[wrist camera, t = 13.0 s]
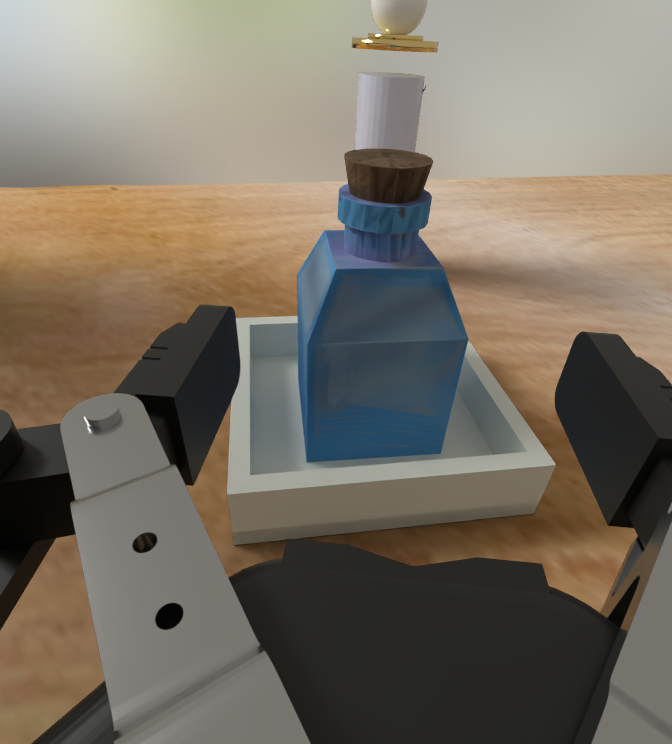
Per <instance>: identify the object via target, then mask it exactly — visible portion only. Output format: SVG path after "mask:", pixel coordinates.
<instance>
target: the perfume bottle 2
mask: <svg viewBox="0 0 672 744" xmlns="http://www.w3.org/2000/svg"><path fill="white" fill-rule="evenodd" d="M432 163H433V160H432V159H431V158H430V157H428V156H426V155H423V154H419V153H415V152H410V151H404V150H396V149H380V148H378V149H358V150H353V151H349V152H347V153H345V164H346V171H347V178H348V184H347V185H344V186H342V187H341V188H339V201H338V219H339V220H340V221H341V222H342V223H343V224H345V230H324V232H323V234H322V235H321V237H320V238H319V240H318V242H317V243H316V245H315V247H314V248H313V250H312V251H311V253H310V255H309V256H308V258H307V259H306V261H305V263H304V264H303V266H302V268H301V269H300V271H299V272H298V274H297V298H298V383H299V393H300V403H301V413H302V423H303V433H304V442H305V452H306V462H320V461H336V460H352V459H367V458H383V457H398V456H414V455H429V454H441V450H442V446H443V442H444V438H445V434H446V430H447V426H448V422H449V418H450V413H451V409H452V405H453V401H454V397H455V393H456V389H457V385H458V381H459V376H460V372H461V368H462V364H463V360H464V356H465V352H466V348H467V344H468V337H467V334H466V331H465V328H464V325H463V322H462V320H461V317H460V314H459V311H458V308H457V305H456V302H455V300H454V297H453V294H452V291H451V288H450V285H449V282H448V279H447V277H446V274H445V271H444V268H443V266H442V265H441V264H440V262H439V261H438V260H437V258H436V257H435V256H434V254H433V253H432V252H431V251H430V249H429V248H428V247H427V245H426V244H425V243H424V241H423V240H422V239H421V237H420V236H419V235H418V233H419V230H420V229H422V228H424V227H425V226H426V225H427V223H428V218H429V212H430V206H431V199H432V197H431V195H430V193H429V192H427V191H425V190H424V186H425V183H426V180H427V177H428V175H429V172H430V169H431V166H432Z"/></svg>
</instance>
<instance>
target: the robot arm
mask: <svg viewBox="0 0 672 744" xmlns="http://www.w3.org/2000/svg"><path fill="white" fill-rule="evenodd" d="M240 367H241V365H240V353H239V344H238V334H237V325H236V316H235V312H234V309H233V308H232V307H229V306H215V305H199V306H198V308H197V309H196V310H195V312H194V313H193V315H192V316H191V317H190V319H189V320H188V321H187V323H186V324H182V323H177V324H175V325H174V326H172V327H171V328H169V329H167V330H166V331H164V332H162V333H161V334H160V335H159V336H158V337H157V339H156V340H155V341H154V342H153V344H152V345H151V346H150V349H148V350H147V351H146V353H145V354H144V355H143V356H142V360H139V361H138V363H137V364H136V365H135V366H134V368H133V369H132V370H131V372H130V373H129V374H128V375H127V377H126V378H125V379H124V380H123V382H122V383H121V384H120V386H119V387H118V388H117V389H116V391H115V392H114V393H111V394H104V395H99V396H96V397H93V398H90V399H87V400H85V401H83V402H81V403H79V404H77V405H76V406H75V407H73V408H72V409H71V410H70V411H69V412H67V414H66V415H65V416H64V417H63V419H62V421H61V423H60V424H54V425H46V426H39V427H32V428H24V429H16V427H15V425H14V423H13V421H12V419H11V417H10V415H9V414H8V413H6V412H5V411H3V410H0V630H1V628H2V627H3V625H4V623H5V622H6V620H7V618H8V617H9V615H10V613H11V612H12V610H13V608H14V607H15V605H16V603H17V602H18V600H19V598H20V597H21V595H22V593H23V592H24V590H25V588H26V587H27V585H28V583H29V582H30V580H31V578H32V577H33V575H34V573H35V572H36V570H37V568H38V567H39V565H40V563H41V562H42V560H43V559H44V557H45V555H46V554H47V552H48V550H49V549H50V547H51V545H52V544H53V542H54V540H55V539H56V538H58V537H64V536H69V535H74V534H76V538H77V543H78V548H79V553H80V558H81V563H82V568H83V573H84V578H85V583H86V588H87V593H88V598H89V603H90V608H91V613H92V618H93V623H94V628H95V633H96V638H97V642H98V647H99V652H100V657H101V662H102V667H103V672H104V677H105V681H104V682H103V683H101V684H100V685H99V686H98V687H97V688H96V689H94V690H93V691H92V692H91V693H90V694H89V695H87V696H86V697H85V698H84V699H83V700H82V701H80V702H79V703H78V704H77V705H76V706H75V707H73V708H72V709H71V710H70V711H69V712H68V713H66V714H65V715H64V716H63V717H62V718H61V719H59V720H58V721H57V722H56V723H55V724H54V725H52V726H51V727H50V728H49V729H48V730H47V731H45V732H44V733H43V734H42V735H41V736H40V737H38V738H37V739H36V740H35V741H34V742H33V743H31V744H672V385H671V383H670V382H669V381H668V380H667V379H666V377H665V376H664V375H663V374H662V373H661V371H659V370H658V369H656V368H655V367H653V366H652V365H650V364H649V363H647V362H646V361H645V360H643V359H642V358H640V357H636V356H635V354H634V353H633V352H632V351H631V349H630V348H629V347H628V345H627V344H626V343H625V342H624V340H623V339H622V338H621V337H620V336H619V335H617V334H607V333H592V332H581V333H579V334H578V335H577V336H576V338H575V340H574V342H573V345H572V347H571V350H570V353H569V355H568V358H567V361H566V363H565V366H564V369H563V371H562V374H561V377H560V379H559V382H558V385H557V388H556V392H555V408H556V412H557V415H558V417H559V419H560V421H561V423H562V426H563V428H564V430H565V432H566V434H567V437H568V439H569V441H570V443H571V445H572V448H573V450H574V452H575V454H576V456H577V459H578V461H579V463H580V465H581V467H582V470H583V472H584V474H585V476H586V478H587V481H588V483H589V485H590V487H591V489H592V492H593V494H594V496H595V498H596V500H597V503H598V505H599V507H600V509H601V511H602V514H603V516H604V518H605V520H606V522H607V525H608V526H618V527H629V528H634V529H635V531H636V533H637V537H636V539H635V540H634V542H633V543H632V545H631V546H630V548H629V551H628V553H627V555H626V557H625V559H624V562H623V564H622V566H621V568H620V570H619V573H618V575H617V577H616V579H615V581H614V584H613V586H612V588H611V590H610V592H609V595H608V597H607V599H606V601H605V603H604V606H603V608H602V610H601V612H600V613H599V612H598V611H596V610H595V609H593V608H592V607H590V606H589V605H587V604H586V603H584V602H582V601H580V600H578V599H577V598H575V597H573V596H571V595H569V594H567V593H564V592H562V591H560V590H558V589H556V588H553V587H550V586H548V583H547V579H546V576H545V573H544V569H543V566H542V564H539V563H529V562H518V561H508V560H498V559H488V558H471V559H464V560H457V561H450V562H443V563H436V564H429V565H422V566H410V565H406V564H403V563H400V562H398V561H395V560H392V559H389V558H386V557H383V556H380V555H377V554H374V553H371V552H368V551H365V550H362V549H359V548H356V547H353V546H350V545H346V544H336V543H325V542H315V541H305V540H295V539H287V541H286V546H285V551H284V556H283V558H281V559H274V560H270V561H266V562H262V563H258V564H256V565H253V566H251V567H248V568H246V569H243V570H241V571H239V572H238V573H236V574H234V575H232V576H230V577H228V576H227V574H226V572H225V570H224V567H223V565H222V563H221V561H220V559H219V557H218V555H217V552H216V550H215V548H214V546H213V544H212V542H211V539H210V537H209V535H208V533H207V531H206V529H205V526H204V524H203V522H202V520H201V518H200V516H199V513H198V511H197V509H196V507H195V505H194V503H193V500H192V498H191V496H190V494H189V492H188V490H187V488H186V485H194V483H195V481H196V479H197V476H198V474H199V472H200V470H201V467H202V465H203V463H204V461H205V458H206V456H207V454H208V452H209V449H210V447H211V445H212V443H213V440H214V438H215V436H216V433H217V431H218V429H219V427H220V424H221V422H222V420H223V418H224V415H225V413H226V411H227V409H228V406H229V404H230V402H231V400H232V397H233V395H234V393H235V391H236V388H237V386H238V383H239V378H240Z"/></svg>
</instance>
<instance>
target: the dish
mask: <svg viewBox="0 0 672 744" xmlns="http://www.w3.org/2000/svg"><path fill="white" fill-rule="evenodd" d="M236 325H237V334H238V344H239V353H240V365H241V367H240V378H239V383H238V386H237V388H236V391H235V393H234V395H233V397H232V400H231V418H230V439H229V460H228V481H227V499H228V506H229V513H230V520H231V527H232V534H233V540H234V545H240V544H250V543H259V542H269V541H278V540H287V539H297V538H307V537H316V536H326V535H335V534H345V533H354V532H364V531H373V530H383V529H392V528H402V527H411V526H421V525H430V524H440V523H449V522H459V521H468V520H478V519H487V518H497V517H506V516H516V515H525V514H534V513H535V511H536V508H537V506H538V504H539V502H540V500H541V497H542V495H543V493H544V491H545V489H546V487H547V484H548V482H549V480H550V478H551V476H552V473H553V471H554V469H555V467H556V464H555V462H554V461H553V460H552V458H551V457H550V455H549V454H548V452H547V451H546V450H545V448H544V447H543V445H542V444H541V443H540V441H539V440H538V438H537V437H536V435H535V434H534V433H533V431H532V430H531V428H530V427H529V426H528V424H527V423H526V421H525V420H524V418H523V417H522V416H521V414H520V413H519V411H518V410H517V409H516V407H515V406H514V404H513V403H512V401H511V400H510V399H509V397H508V396H507V394H506V393H505V392H504V390H503V389H502V387H501V386H500V384H499V383H498V382H497V380H496V379H495V377H494V376H493V375H492V373H491V372H490V370H489V369H488V367H487V366H486V365H485V363H484V362H483V360H482V359H481V358H480V356H479V355H478V353H477V352H476V350H475V349H474V348H473V346H472V345H471V343H470V342H469V341H468V344H467V348H466V352H465V356H464V360H463V364H462V368H461V372H460V376H459V381H458V385H457V389H456V393H455V397H454V401H453V405H452V409H451V413H450V418H449V422H448V426H447V430H446V434H445V438H444V442H443V446H442V450H441V454H429V455H414V456H398V457H383V458H367V459H352V460H336V461H320V462H306V452H305V442H304V433H303V423H302V413H301V403H300V393H299V383H298V316H283V317H255V318H236Z"/></svg>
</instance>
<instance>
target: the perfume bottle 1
mask: <svg viewBox="0 0 672 744" xmlns="http://www.w3.org/2000/svg"><path fill="white" fill-rule="evenodd" d="M426 6H427V0H371V12H372V16H373V19H374V22H375V23H376V25H377V27H378V28H379V29H380V30H381V31H382V32H383V33H385V34H368V38H352V48H360V49H374V50H392V51H411V52H437V49H438V42H431V41H423V36H410V35H409V36H408V35H407V34H409V33H411V32H412V31H413V30H414V29H415V28H416V27H417V26H418V24H419V23H420V22H421V19H422V18H423V16H424V13H425V10H426ZM424 78H425V77H424V76H420V75H413V74H403V73H385V72H361V73H359V87H358V103H357V104H358V105H357V121H356V138H355V150H358V149H378V148H380V149H396V150H404V151H410V152H415V147H416V140H417V132H418V124H419V116H420V109H421V101H422V93H423V91H424V90H425V89H423V86H424Z"/></svg>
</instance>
